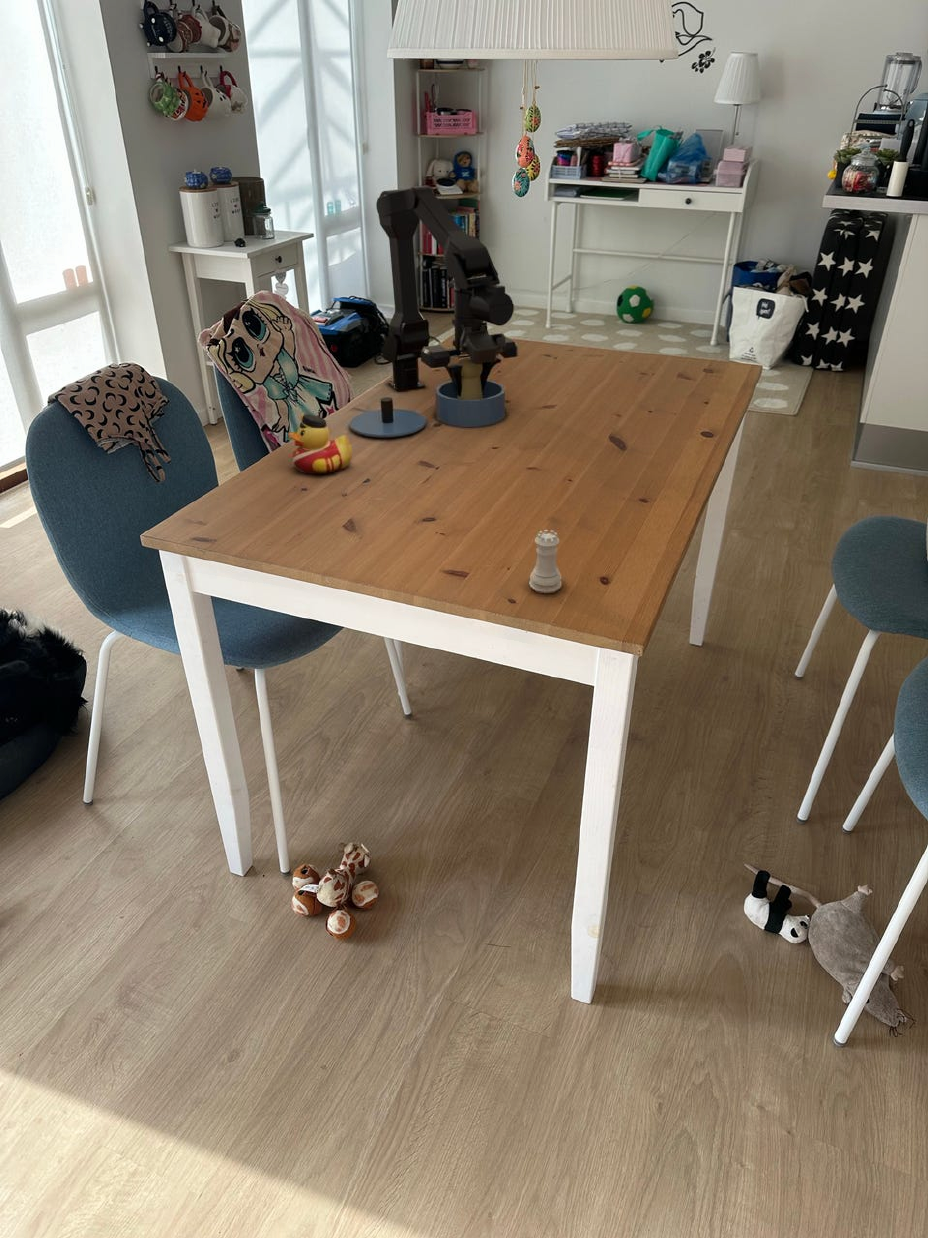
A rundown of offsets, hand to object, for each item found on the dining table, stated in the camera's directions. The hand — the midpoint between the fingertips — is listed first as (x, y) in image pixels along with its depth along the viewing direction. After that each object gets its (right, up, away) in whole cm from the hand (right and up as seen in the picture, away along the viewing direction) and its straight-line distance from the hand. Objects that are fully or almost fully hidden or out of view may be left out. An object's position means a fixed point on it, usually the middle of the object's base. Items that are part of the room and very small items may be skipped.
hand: (470, 394), depth 177 cm
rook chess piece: (+10, -41, -57) cm, 71 cm away
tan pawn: (0, -3, +2) cm, 4 cm away
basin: (0, -4, +2) cm, 4 cm away
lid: (-16, -7, -3) cm, 18 cm away
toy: (-26, -18, -20) cm, 38 cm away
